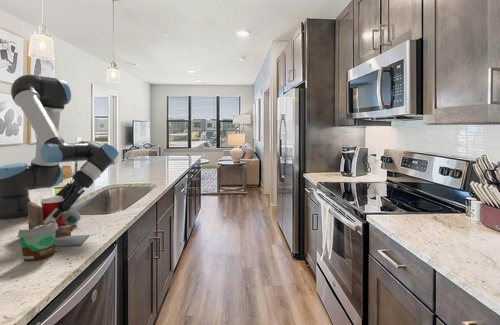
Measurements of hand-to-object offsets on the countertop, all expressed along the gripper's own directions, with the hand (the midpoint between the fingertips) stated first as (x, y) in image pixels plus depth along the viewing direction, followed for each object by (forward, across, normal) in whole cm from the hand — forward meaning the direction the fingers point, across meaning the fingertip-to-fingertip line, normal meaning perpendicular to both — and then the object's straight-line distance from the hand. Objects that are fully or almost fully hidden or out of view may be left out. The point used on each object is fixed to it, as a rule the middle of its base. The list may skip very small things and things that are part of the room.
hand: (42, 222), depth 120 cm
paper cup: (+1, 0, -6) cm, 6 cm away
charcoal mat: (0, -14, -7) cm, 16 cm away
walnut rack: (+2, 0, -5) cm, 6 cm away
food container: (+8, -23, 0) cm, 24 cm away
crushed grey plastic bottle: (-4, +14, -12) cm, 19 cm away
